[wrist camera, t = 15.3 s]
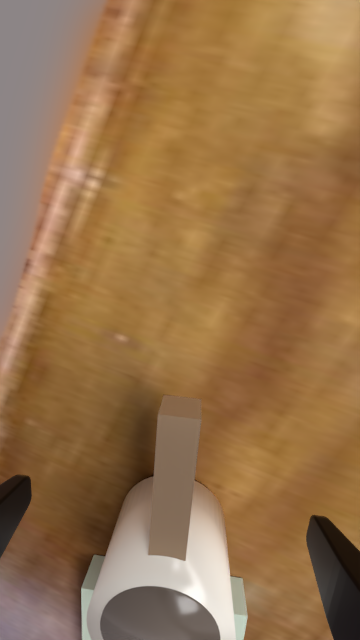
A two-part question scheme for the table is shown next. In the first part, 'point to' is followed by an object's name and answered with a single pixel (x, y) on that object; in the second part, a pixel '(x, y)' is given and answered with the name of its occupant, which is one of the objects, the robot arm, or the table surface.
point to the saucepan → (167, 548)
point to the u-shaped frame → (93, 575)
